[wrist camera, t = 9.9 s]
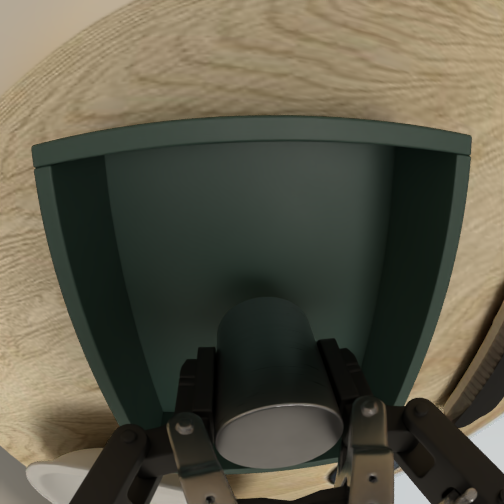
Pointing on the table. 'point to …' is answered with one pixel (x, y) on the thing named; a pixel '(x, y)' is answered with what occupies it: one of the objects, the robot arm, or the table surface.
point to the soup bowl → (75, 470)
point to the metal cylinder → (271, 387)
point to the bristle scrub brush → (480, 379)
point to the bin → (251, 243)
